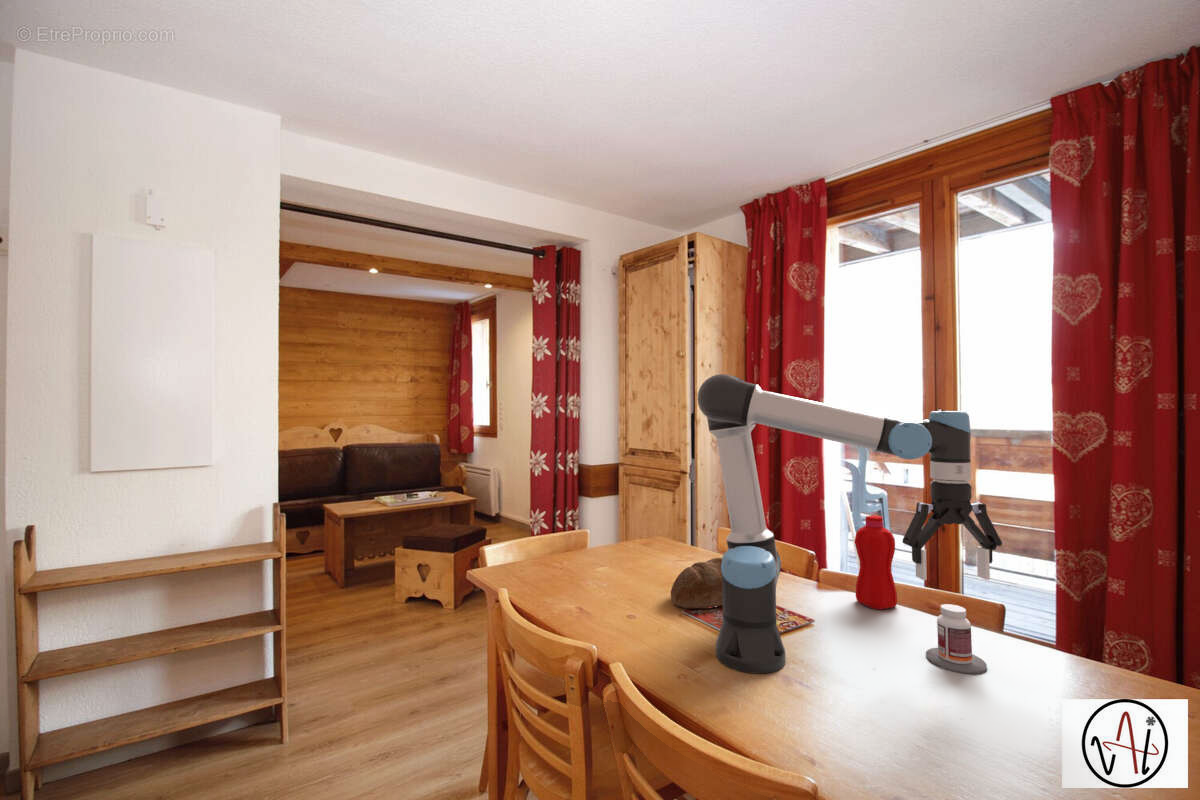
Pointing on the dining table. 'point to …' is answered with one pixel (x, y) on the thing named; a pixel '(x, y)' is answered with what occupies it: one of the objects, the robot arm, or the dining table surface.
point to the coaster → (971, 668)
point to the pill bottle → (954, 635)
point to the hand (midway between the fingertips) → (952, 578)
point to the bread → (699, 585)
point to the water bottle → (875, 565)
